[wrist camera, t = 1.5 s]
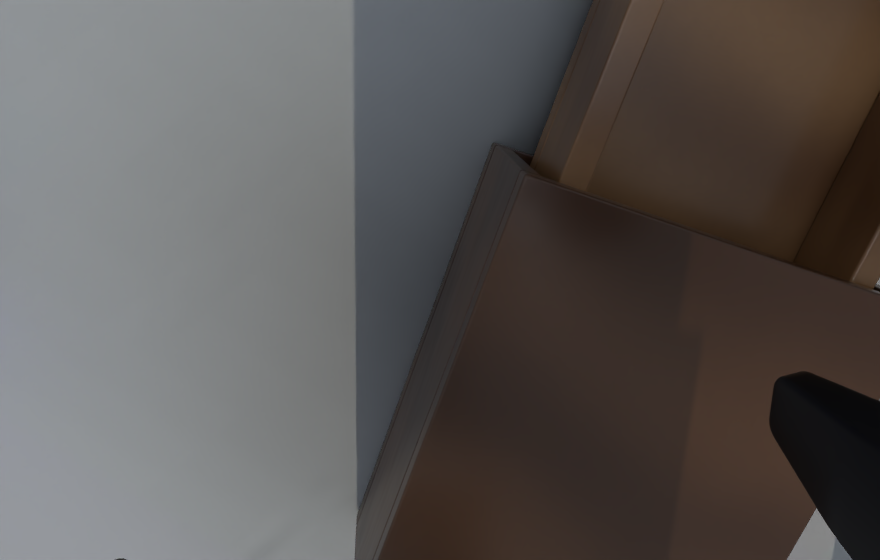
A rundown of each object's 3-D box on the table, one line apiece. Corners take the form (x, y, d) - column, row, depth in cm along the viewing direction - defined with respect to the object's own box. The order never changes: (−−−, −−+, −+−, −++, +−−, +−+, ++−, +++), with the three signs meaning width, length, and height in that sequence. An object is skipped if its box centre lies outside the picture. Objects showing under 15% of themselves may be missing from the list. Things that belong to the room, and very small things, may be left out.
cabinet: (492, 141, 22) (525, 173, 17) (816, 253, 24) (931, 311, 19) (356, 516, 26) (349, 632, 21) (644, 586, 28) (702, 707, 23)
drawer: (724, -407, 18) (810, -519, 14) (1066, -231, 20) (1219, -290, 16) (485, 232, 22) (504, 269, 19) (778, 326, 24) (846, 377, 21)
